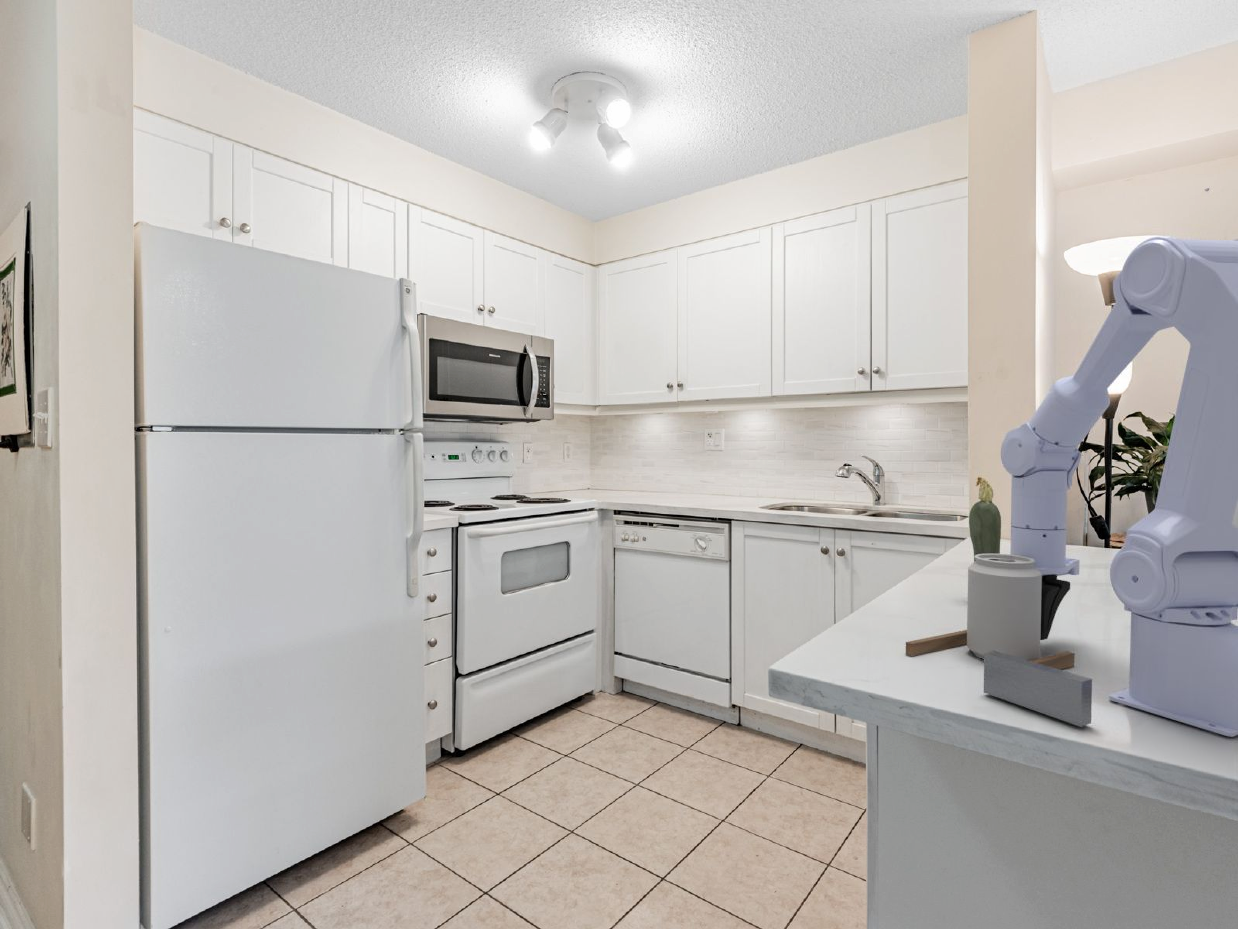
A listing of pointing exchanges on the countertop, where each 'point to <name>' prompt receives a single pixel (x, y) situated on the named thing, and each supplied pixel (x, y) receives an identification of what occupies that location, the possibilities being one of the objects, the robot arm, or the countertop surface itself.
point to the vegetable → (985, 522)
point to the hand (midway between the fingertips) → (1035, 637)
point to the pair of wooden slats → (960, 639)
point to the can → (1004, 606)
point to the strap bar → (1038, 687)
